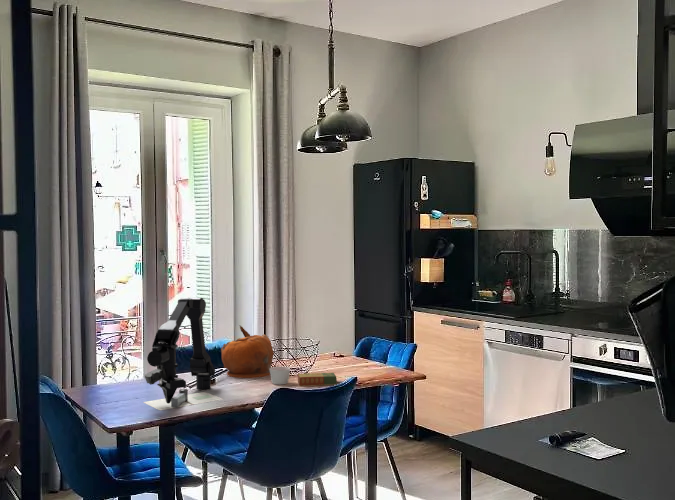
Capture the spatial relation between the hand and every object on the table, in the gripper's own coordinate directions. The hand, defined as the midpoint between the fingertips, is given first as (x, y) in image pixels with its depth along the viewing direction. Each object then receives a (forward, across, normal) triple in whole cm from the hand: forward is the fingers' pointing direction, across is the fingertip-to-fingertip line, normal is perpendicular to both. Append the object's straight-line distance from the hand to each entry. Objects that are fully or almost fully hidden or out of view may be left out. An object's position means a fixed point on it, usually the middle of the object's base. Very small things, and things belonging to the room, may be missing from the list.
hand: (168, 403), depth 252 cm
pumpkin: (+2, -38, +57) cm, 68 cm away
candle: (+2, -11, +56) cm, 57 cm away
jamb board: (+2, -4, +8) cm, 9 cm away
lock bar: (+1, -1, +5) cm, 5 cm away
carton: (+3, 0, +68) cm, 68 cm away
